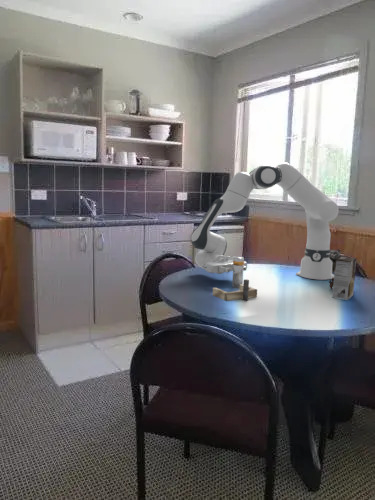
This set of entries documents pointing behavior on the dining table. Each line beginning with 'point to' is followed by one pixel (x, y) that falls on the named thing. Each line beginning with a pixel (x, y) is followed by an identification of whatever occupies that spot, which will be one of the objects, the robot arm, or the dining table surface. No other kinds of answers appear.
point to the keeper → (236, 293)
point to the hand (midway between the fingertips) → (236, 269)
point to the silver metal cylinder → (237, 271)
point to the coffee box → (344, 277)
